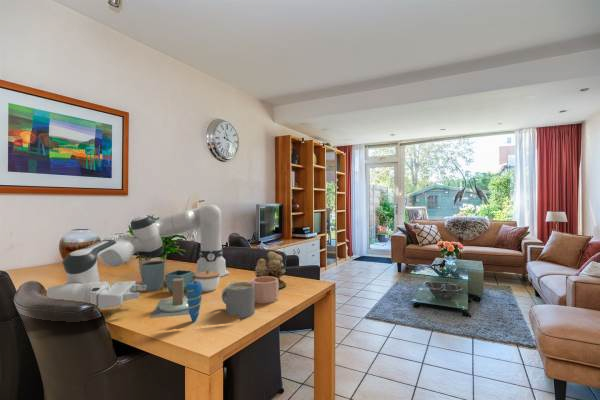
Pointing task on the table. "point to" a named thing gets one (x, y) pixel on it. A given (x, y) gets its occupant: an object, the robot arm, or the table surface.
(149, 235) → the robot arm
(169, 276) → the flower pot
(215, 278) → the lidded jar
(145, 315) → the table surface
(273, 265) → the brown rock sculpture
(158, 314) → the mat
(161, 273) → the blue-grey tapered cup
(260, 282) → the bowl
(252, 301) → the coffee mug
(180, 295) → the lid
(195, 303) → the ornament
